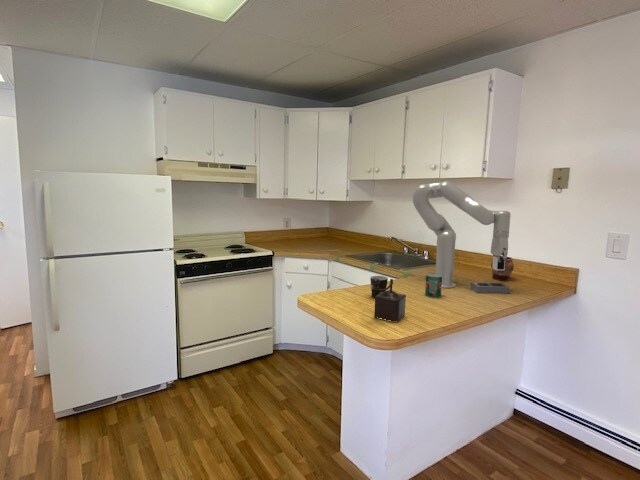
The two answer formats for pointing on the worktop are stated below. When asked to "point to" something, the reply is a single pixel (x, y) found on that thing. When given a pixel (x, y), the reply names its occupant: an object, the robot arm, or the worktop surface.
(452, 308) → the worktop surface
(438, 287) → the canned tomato
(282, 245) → the worktop surface
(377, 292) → the coffee mug
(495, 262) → the block
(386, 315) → the manual coffee grinder
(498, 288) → the power strip
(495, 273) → the decorative planter
